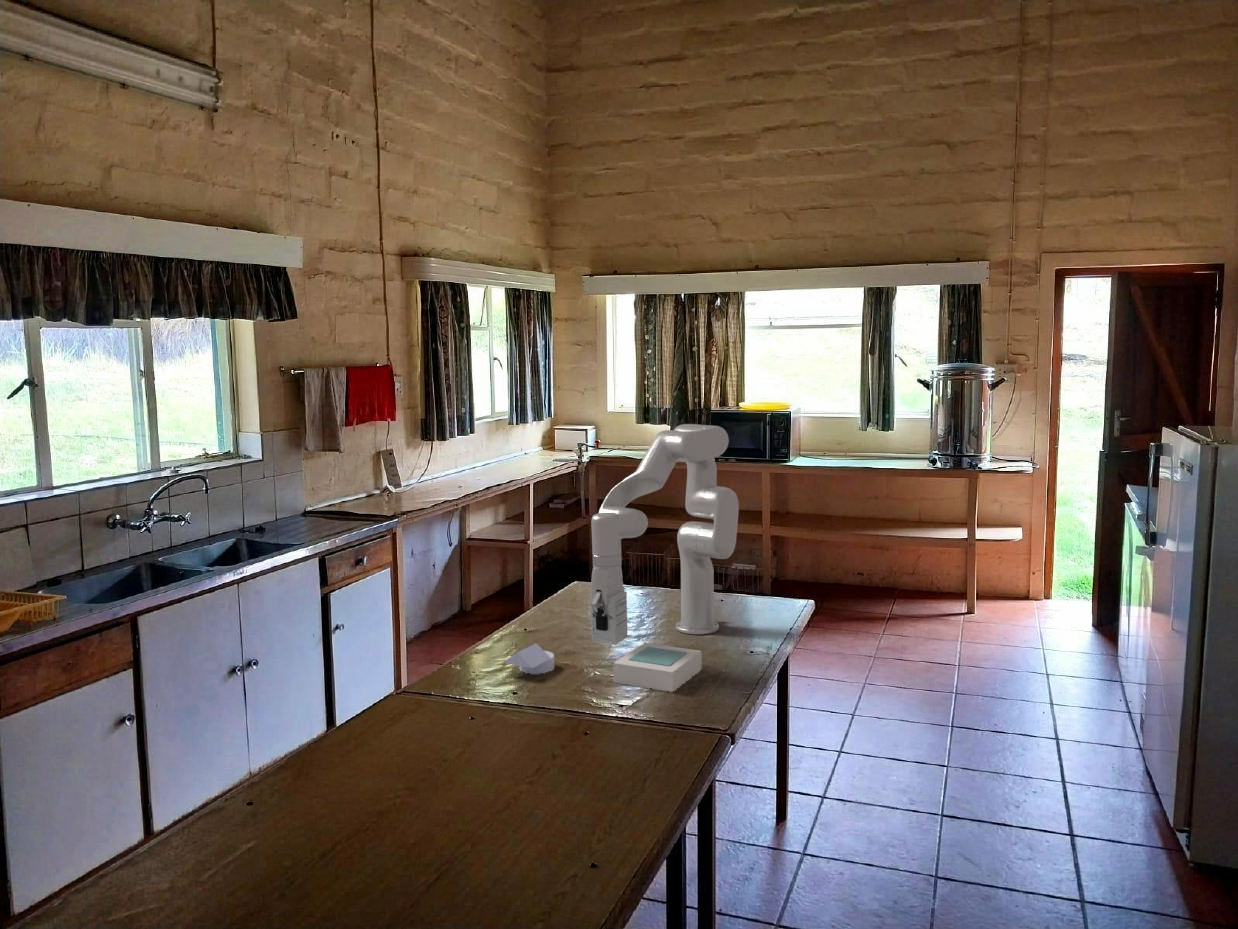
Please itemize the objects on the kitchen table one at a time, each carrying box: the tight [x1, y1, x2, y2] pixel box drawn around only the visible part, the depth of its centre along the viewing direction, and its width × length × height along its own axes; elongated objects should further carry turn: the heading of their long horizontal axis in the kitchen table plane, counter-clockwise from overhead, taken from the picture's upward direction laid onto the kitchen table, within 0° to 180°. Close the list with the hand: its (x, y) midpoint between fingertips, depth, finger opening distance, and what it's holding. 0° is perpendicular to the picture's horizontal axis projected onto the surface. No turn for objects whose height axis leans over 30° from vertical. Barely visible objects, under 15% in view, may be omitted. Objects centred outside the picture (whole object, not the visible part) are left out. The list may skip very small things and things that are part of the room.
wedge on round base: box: [503, 643, 555, 675], centre depth 252 cm, size 9×7×13 cm
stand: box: [612, 642, 702, 693], centre depth 246 cm, size 18×16×5 cm
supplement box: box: [589, 591, 628, 646], centre depth 258 cm, size 7×7×13 cm
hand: (609, 625), depth 258 cm, fingers closed on supplement box, 7 cm apart
